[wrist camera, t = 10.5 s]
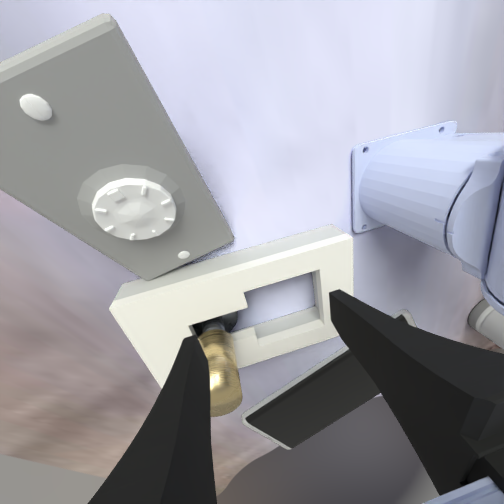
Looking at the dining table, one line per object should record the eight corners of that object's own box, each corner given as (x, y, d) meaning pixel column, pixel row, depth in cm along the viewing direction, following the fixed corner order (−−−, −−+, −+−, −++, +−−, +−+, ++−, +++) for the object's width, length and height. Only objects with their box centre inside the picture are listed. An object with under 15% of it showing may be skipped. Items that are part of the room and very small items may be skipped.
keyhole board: (331, 224, 22) (353, 237, 19) (336, 309, 27) (353, 331, 24) (122, 283, 21) (108, 309, 18) (169, 362, 26) (164, 392, 23)
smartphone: (424, 352, 36) (434, 361, 35) (285, 440, 39) (288, 452, 38) (400, 303, 30) (411, 312, 29) (238, 412, 33) (240, 425, 32)
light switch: (148, 291, 20) (-127, 134, 8) (141, 240, 23) (-58, 73, 11) (239, 248, 20) (111, 21, 7) (219, 203, 23) (108, -7, 11)
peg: (239, 291, 24) (261, 376, 15) (230, 328, 25) (245, 420, 17) (190, 288, 22) (185, 378, 14) (185, 326, 24) (177, 426, 16)
